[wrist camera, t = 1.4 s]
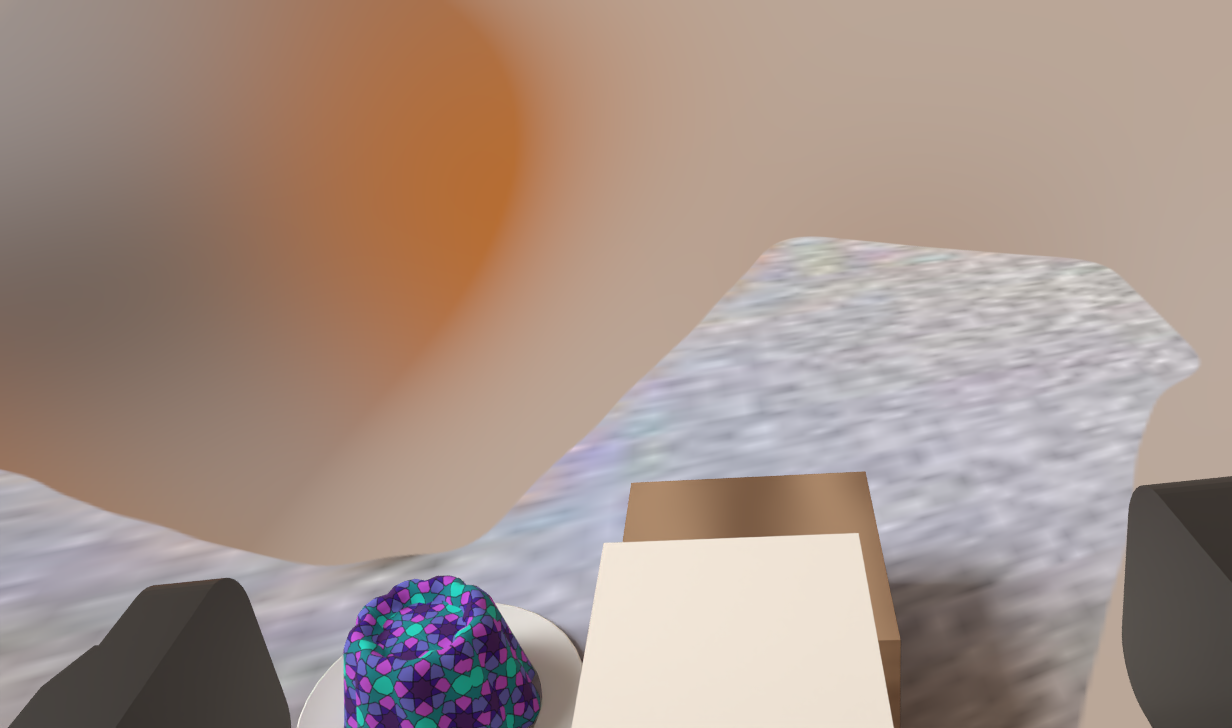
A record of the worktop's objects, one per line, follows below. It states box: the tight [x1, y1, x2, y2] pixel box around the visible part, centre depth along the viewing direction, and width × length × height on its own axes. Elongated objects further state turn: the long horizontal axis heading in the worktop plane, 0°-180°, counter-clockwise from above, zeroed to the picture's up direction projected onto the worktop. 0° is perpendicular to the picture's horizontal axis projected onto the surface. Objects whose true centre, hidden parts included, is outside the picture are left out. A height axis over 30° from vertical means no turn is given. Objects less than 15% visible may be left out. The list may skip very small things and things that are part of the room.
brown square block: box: [623, 472, 901, 728], centre depth 40 cm, size 10×10×6 cm
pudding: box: [297, 576, 583, 728], centre depth 41 cm, size 12×12×5 cm
